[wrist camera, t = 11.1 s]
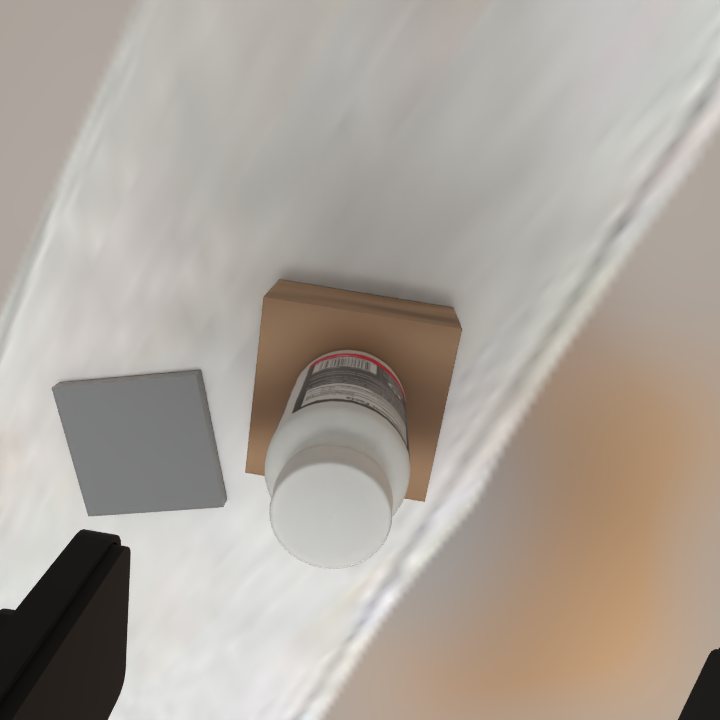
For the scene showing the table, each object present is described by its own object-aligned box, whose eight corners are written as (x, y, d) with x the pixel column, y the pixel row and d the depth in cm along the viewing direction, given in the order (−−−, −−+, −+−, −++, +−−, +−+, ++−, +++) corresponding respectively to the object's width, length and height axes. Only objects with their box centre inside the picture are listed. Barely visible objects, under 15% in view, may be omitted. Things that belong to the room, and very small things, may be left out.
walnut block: (279, 279, 31) (263, 296, 27) (453, 307, 31) (462, 328, 27) (261, 437, 34) (245, 472, 30) (421, 462, 34) (424, 501, 30)
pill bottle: (361, 472, 30) (347, 615, 21) (270, 411, 29) (213, 530, 20) (430, 390, 28) (448, 505, 19) (336, 323, 28) (307, 408, 18)
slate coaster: (59, 382, 34) (51, 387, 33) (200, 370, 33) (196, 375, 32) (94, 508, 36) (88, 516, 35) (226, 499, 36) (223, 507, 35)
